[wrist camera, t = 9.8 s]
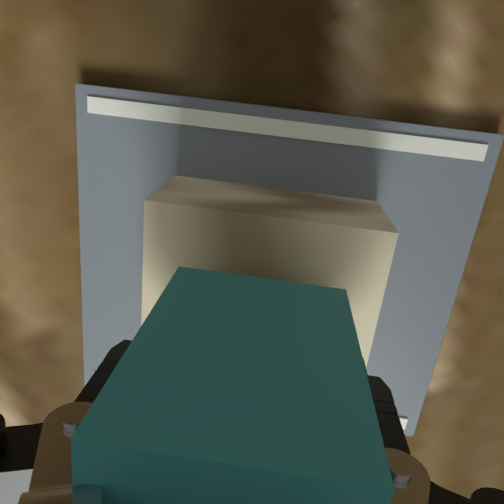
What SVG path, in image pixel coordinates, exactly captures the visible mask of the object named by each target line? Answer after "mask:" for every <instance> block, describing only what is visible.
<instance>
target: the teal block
mask: <svg viewBox="0 0 504 504" xmlns="http://www.w3.org/2000/svg"><path fill="white" fill-rule="evenodd" d="M70 440H71V462H72V484H73V486H78V485H102V491H103V504H391V500H392V497H393V494H394V490H395V489H394V485H393V480H392V476H391V472H390V468H389V464H388V460H387V456H386V452H385V448H384V443H383V439H382V435H381V431H380V427H379V423H378V419H377V415H376V411H375V406H374V402H373V398H372V394H371V390H370V386H369V382H368V378H367V374H366V369H365V365H364V361H363V357H362V353H361V349H360V345H359V341H358V337H357V332H356V328H355V324H354V320H353V316H352V312H351V308H350V304H349V299H348V295H347V291H346V289H340V288H333V287H325V286H318V285H311V284H304V283H296V282H289V281H282V280H275V279H267V278H260V277H253V276H245V275H238V274H231V273H224V272H216V271H209V270H202V269H195V268H187V267H180V266H179V267H178V268H177V270H176V272H175V273H174V275H173V276H172V278H171V280H170V281H169V283H168V284H167V286H166V287H165V289H164V291H163V292H162V294H161V295H160V297H159V299H158V300H157V302H156V303H155V305H154V307H153V308H152V310H151V311H150V313H149V315H148V316H147V318H146V319H145V321H144V323H143V324H142V326H141V327H140V329H139V331H138V332H137V334H136V335H135V337H134V338H133V340H132V342H131V343H130V345H129V346H128V348H127V350H126V351H125V353H124V354H123V356H122V358H121V359H120V361H119V362H118V364H117V366H116V367H115V369H114V370H113V372H112V374H111V375H110V377H109V378H108V380H107V381H106V383H105V385H104V386H103V388H102V389H101V391H100V393H99V394H98V396H97V397H96V399H95V401H94V402H93V404H92V405H91V407H90V409H89V410H88V412H87V413H86V415H85V417H84V418H83V420H82V421H81V423H80V425H79V426H78V428H77V429H76V431H75V432H74V434H73V436H72V437H71V439H70Z"/></svg>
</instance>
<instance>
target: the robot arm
mask: <svg viewBox="0 0 504 504" xmlns="http://www.w3.org/2000/svg"><path fill="white" fill-rule="evenodd" d="M131 342H132V340H123V341H121V342H120V343H118V344H117V345H115V346H114V347H112V348H111V349H110V350H109V352H108V353H107V355H106V356H105V358H104V359H103V362H101V364H100V365H99V366H98V368H97V371H95V372H94V374H93V375H92V377H91V378H90V380H89V381H88V383H87V384H86V385H85V387H84V388H83V390H82V391H81V393H80V394H79V396H78V397H77V399H76V400H75V401H74V402H72V403H68V404H65V405H62V406H60V407H58V408H56V409H55V410H53V411H52V412H51V413H49V415H48V416H47V417H46V418H45V420H44V422H43V423H39V424H33V425H22V426H11V427H6V426H5V420H4V417H3V416H2V415H1V414H0V504H103V491H102V485H78V486H73V484H72V462H71V440H70V439H71V437H72V436H73V434H74V432H75V431H76V429H77V428H78V426H79V425H80V423H81V421H82V420H83V418H84V417H85V415H86V413H87V412H88V410H89V409H90V407H91V405H92V404H93V402H94V401H95V399H96V397H97V396H98V394H99V393H100V391H101V389H102V388H103V386H104V385H105V383H106V381H107V380H108V378H109V377H110V375H111V374H112V372H113V370H114V369H115V367H116V366H117V364H118V362H119V361H120V359H121V358H122V356H123V354H124V353H125V351H126V350H127V348H128V346H129V345H130V343H131ZM363 361H364V358H363ZM364 365H365V362H364ZM365 369H366V366H365ZM366 374H367V370H366ZM367 378H368V382H369V386H370V390H371V394H372V398H373V402H374V406H375V411H376V415H377V419H378V423H379V427H380V431H381V435H382V439H383V443H384V448H385V452H386V456H387V460H388V464H389V468H390V472H391V476H392V480H393V485H394V489H395V490H394V494H393V497H392V500H391V504H504V491H502V490H499V489H495V488H480V489H477V490H476V491H474V492H473V493H472V495H471V497H470V499H468V498H466V497H463V496H461V495H458V494H456V493H453V492H451V491H449V490H446V489H444V488H442V487H440V486H438V485H436V484H435V483H433V482H432V481H430V477H429V474H428V472H427V470H426V469H425V467H424V466H423V465H422V464H421V463H420V462H419V461H418V460H417V459H416V458H414V457H413V456H411V454H410V451H409V448H408V445H407V441H406V438H405V435H404V431H403V428H402V425H401V422H400V418H399V416H398V412H397V409H396V405H394V403H395V402H394V399H393V396H392V392H391V389H390V388H389V387H388V386H387V385H386V383H385V382H384V381H383V380H382V379H381V378H380V377H377V376H370V375H368V374H367Z"/></svg>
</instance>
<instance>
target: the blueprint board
mask: <svg viewBox="0 0 504 504" xmlns="http://www.w3.org/2000/svg"><path fill="white" fill-rule="evenodd" d="M75 93H76V126H77V159H78V192H79V224H80V257H81V290H82V322H83V355H84V387H85V385H86V384H87V383H88V381H89V380H90V378H91V377H92V375H93V374H94V372H95V371H97V368H98V366H99V365H100V364H101V362H103V359H104V358H105V356H106V355H107V353H108V352H109V350H110V349H111V348H112V347H114V346H115V345H117V344H118V343H120V342H121V341H123V340H133V338H134V337H135V335H136V334H137V332H138V331H139V329H140V327H141V314H142V271H143V228H144V200H145V199H146V198H147V197H149V196H150V195H151V194H152V193H154V192H155V191H156V190H157V189H159V188H160V187H161V186H162V185H164V184H165V183H166V182H168V181H169V180H170V179H171V178H173V177H174V176H175V175H177V176H185V177H193V178H201V179H209V180H216V181H224V182H232V183H240V184H248V185H255V186H263V187H271V188H279V189H287V190H294V191H302V192H310V193H318V194H326V195H333V196H341V197H349V198H357V199H365V200H372V201H377V202H378V203H379V205H380V206H381V208H382V209H383V211H384V212H385V214H386V215H387V217H388V218H389V220H390V221H391V223H392V224H393V226H394V227H395V229H396V230H397V232H398V233H399V234H398V238H397V242H396V246H395V250H394V255H393V259H392V263H391V267H390V271H389V276H388V280H387V284H386V288H385V292H384V296H383V301H382V305H381V309H380V313H379V317H378V321H377V326H376V330H375V334H374V338H373V342H372V346H371V351H370V355H369V359H368V363H367V367H366V370H367V374H368V375H370V376H377V377H380V378H381V379H382V380H383V381H384V382H385V383H386V385H387V386H388V387H389V388H390V389H391V392H392V396H393V399H394V402H395V403H394V405H396V409H397V412H398V416H399V418H400V422H401V425H402V428H403V431H404V435H408V436H413V435H414V432H415V429H416V425H417V422H418V419H419V415H420V412H421V409H422V406H423V402H424V399H425V396H426V392H427V389H428V386H429V383H430V379H431V376H432V373H433V369H434V366H435V363H436V360H437V356H438V353H439V350H440V346H441V343H442V340H443V337H444V333H445V330H446V327H447V323H448V320H449V317H450V314H451V310H452V307H453V304H454V300H455V297H456V294H457V291H458V287H459V284H460V281H461V277H462V274H463V271H464V268H465V264H466V261H467V258H468V254H469V251H470V248H471V245H472V241H473V238H474V235H475V231H476V228H477V225H478V222H479V218H480V215H481V212H482V208H483V205H484V202H485V199H486V195H487V192H488V189H489V185H490V182H491V179H492V176H493V172H494V169H495V166H496V162H497V159H498V156H499V153H500V149H501V146H502V143H503V139H504V135H502V134H498V133H490V132H482V131H474V130H465V129H457V128H449V127H440V126H432V125H424V124H415V123H407V122H399V121H391V120H382V119H374V118H366V117H357V116H349V115H341V114H332V113H324V112H316V111H307V110H299V109H291V108H282V107H274V106H266V105H257V104H249V103H241V102H232V101H224V100H216V99H207V98H199V97H191V96H182V95H174V94H166V93H157V92H149V91H141V90H132V89H124V88H116V87H107V86H99V85H91V84H83V83H79V84H75Z"/></svg>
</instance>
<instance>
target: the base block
mask: <svg viewBox="0 0 504 504" xmlns="http://www.w3.org/2000/svg"><path fill="white" fill-rule="evenodd" d="M398 234H399V233H398V232H397V230H396V229H395V227H394V226H393V224H392V223H391V221H390V220H389V218H388V217H387V215H386V214H385V212H384V211H383V209H382V208H381V206H380V205H379V203H378V202H377V201H372V200H365V199H357V198H349V197H341V196H333V195H326V194H318V193H310V192H302V191H294V190H287V189H279V188H271V187H263V186H255V185H248V184H240V183H232V182H224V181H216V180H209V179H201V178H193V177H185V176H177V175H175V176H174V177H173V178H171V179H170V180H169V181H168V182H166V183H165V184H164V185H162V186H161V187H160V188H159V189H157V190H156V191H155V192H154V193H152V194H151V195H150V196H149V197H147V198H146V199H145V200H144V228H143V271H142V314H141V326H142V324H143V323H144V321H145V319H146V318H147V316H148V315H149V313H150V311H151V310H152V308H153V307H154V305H155V303H156V302H157V300H158V299H159V297H160V295H161V294H162V292H163V291H164V289H165V287H166V286H167V284H168V283H169V281H170V280H171V278H172V276H173V275H174V273H175V272H176V270H177V268H178V267H179V266H180V267H187V268H195V269H202V270H209V271H216V272H224V273H231V274H238V275H245V276H253V277H260V278H267V279H275V280H282V281H289V282H296V283H304V284H311V285H318V286H325V287H333V288H340V289H346V291H347V295H348V299H349V304H350V308H351V312H352V316H353V320H354V324H355V328H356V332H357V337H358V341H359V345H360V349H361V353H362V357H363V358H364V362H365V366H366V367H367V363H368V359H369V355H370V351H371V346H372V342H373V338H374V334H375V330H376V326H377V321H378V317H379V313H380V309H381V305H382V301H383V296H384V292H385V288H386V284H387V280H388V276H389V271H390V267H391V263H392V259H393V255H394V250H395V246H396V242H397V238H398Z"/></svg>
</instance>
